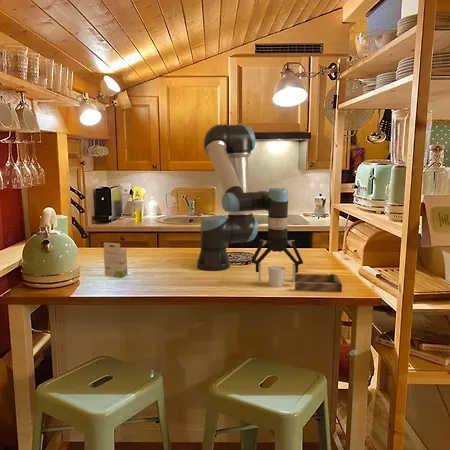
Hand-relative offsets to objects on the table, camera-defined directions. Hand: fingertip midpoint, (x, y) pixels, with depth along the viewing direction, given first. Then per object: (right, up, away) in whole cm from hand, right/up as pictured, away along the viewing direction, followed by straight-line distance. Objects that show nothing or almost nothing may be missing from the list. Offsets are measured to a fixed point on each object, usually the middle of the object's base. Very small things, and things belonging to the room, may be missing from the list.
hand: (276, 280), depth 169 cm
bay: (+15, -2, -1) cm, 15 cm away
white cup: (0, -2, +1) cm, 2 cm away
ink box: (-67, 0, +13) cm, 69 cm away
